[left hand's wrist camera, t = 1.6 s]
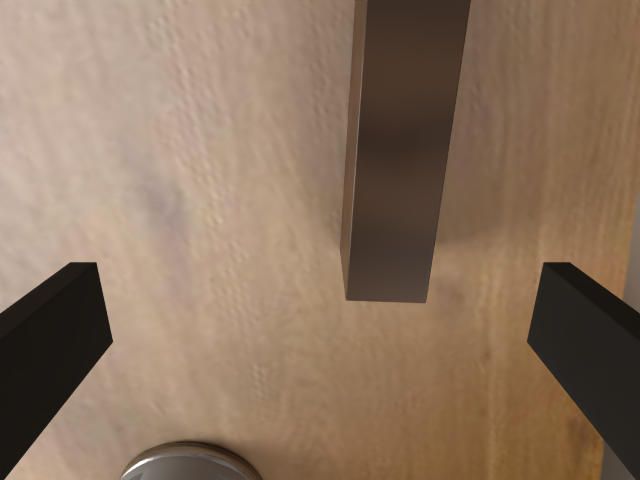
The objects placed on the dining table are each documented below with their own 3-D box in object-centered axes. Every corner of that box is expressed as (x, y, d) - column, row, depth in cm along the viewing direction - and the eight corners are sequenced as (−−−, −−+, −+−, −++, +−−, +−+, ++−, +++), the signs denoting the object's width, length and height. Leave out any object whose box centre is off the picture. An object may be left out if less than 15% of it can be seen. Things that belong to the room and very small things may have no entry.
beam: (402, 253, 33) (426, 303, 26) (339, 251, 33) (345, 301, 26) (470, -311, 22) (547, -514, 14) (374, -316, 22) (402, -522, 14)
